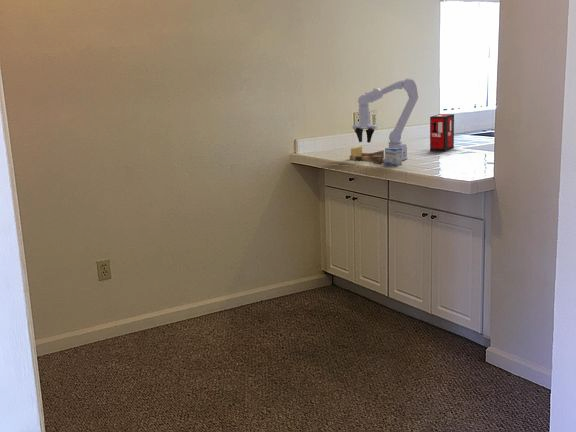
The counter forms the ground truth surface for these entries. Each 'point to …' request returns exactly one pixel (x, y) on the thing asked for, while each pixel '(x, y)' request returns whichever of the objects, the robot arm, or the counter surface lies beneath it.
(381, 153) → the brown wooden drawer
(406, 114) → the robot arm
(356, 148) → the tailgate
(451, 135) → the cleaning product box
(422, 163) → the counter surface
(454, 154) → the counter surface
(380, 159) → the walnut crate
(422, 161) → the counter surface
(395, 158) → the medicine box
